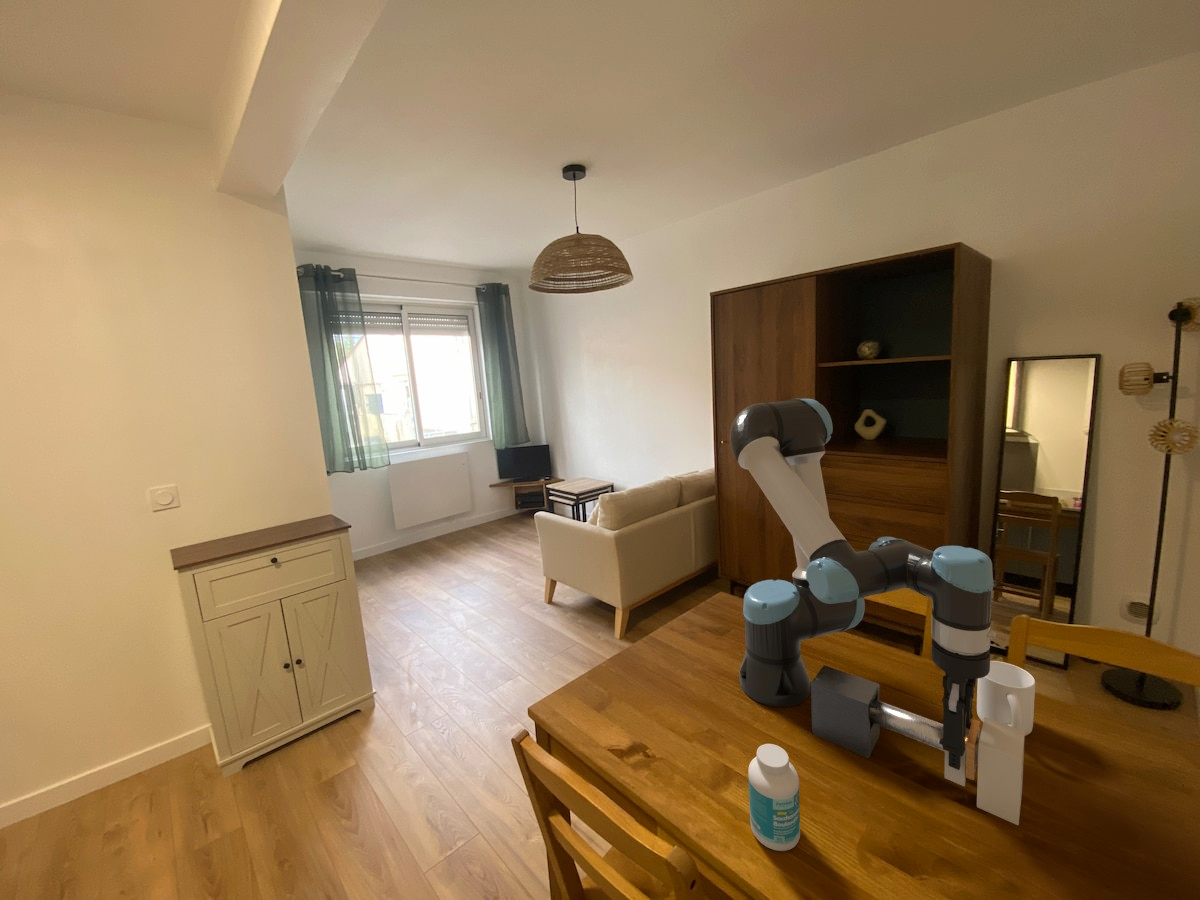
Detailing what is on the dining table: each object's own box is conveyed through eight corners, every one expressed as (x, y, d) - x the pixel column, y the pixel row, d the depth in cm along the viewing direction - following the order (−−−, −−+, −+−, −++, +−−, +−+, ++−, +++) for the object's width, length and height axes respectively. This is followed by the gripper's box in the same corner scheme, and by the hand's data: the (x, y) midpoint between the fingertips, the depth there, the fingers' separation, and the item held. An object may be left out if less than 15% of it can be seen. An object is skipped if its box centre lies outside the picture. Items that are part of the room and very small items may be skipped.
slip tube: (856, 731, 87) (856, 700, 86) (867, 712, 92) (866, 682, 91) (998, 790, 73) (999, 754, 72) (1002, 764, 78) (1003, 729, 77)
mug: (1046, 758, 83) (1049, 705, 81) (986, 745, 87) (988, 694, 85) (1024, 713, 93) (1027, 665, 92) (972, 703, 97) (973, 657, 96)
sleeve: (812, 733, 93) (810, 682, 92) (825, 713, 98) (823, 665, 96) (868, 758, 86) (868, 704, 85) (879, 735, 91) (879, 684, 89)
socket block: (976, 806, 75) (978, 742, 74) (982, 778, 80) (984, 717, 79) (1018, 825, 72) (1021, 758, 70) (1021, 794, 77) (1024, 730, 75)
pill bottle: (780, 864, 70) (776, 784, 68) (740, 826, 76) (736, 752, 74) (811, 834, 74) (808, 757, 72) (770, 801, 80) (767, 729, 78)
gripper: (983, 679, 67) (978, 821, 71) (996, 627, 79) (991, 750, 83) (920, 661, 73) (919, 793, 76) (941, 614, 85) (939, 731, 88)
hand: (957, 771), depth 80 cm, fingers closed on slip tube, 4 cm apart
